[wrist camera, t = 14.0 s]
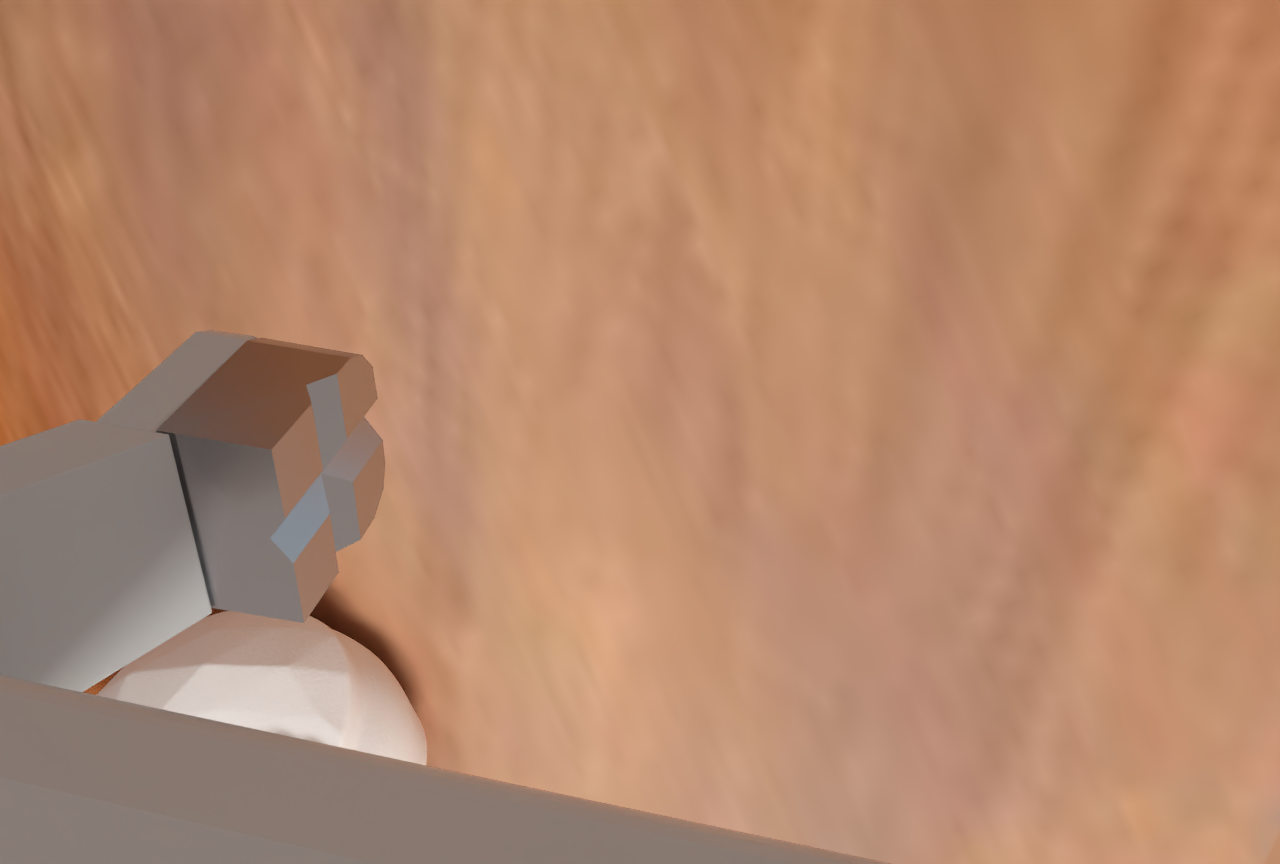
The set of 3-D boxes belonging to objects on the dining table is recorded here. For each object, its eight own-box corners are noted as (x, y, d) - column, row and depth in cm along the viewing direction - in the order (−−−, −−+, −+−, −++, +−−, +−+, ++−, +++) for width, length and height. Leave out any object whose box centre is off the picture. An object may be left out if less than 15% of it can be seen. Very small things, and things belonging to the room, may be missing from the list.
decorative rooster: (474, 623, 64) (240, 1066, 44) (455, 806, 73) (254, 1244, 53) (55, 500, 67) (-346, 865, 47) (86, 691, 76) (-238, 1066, 56)
